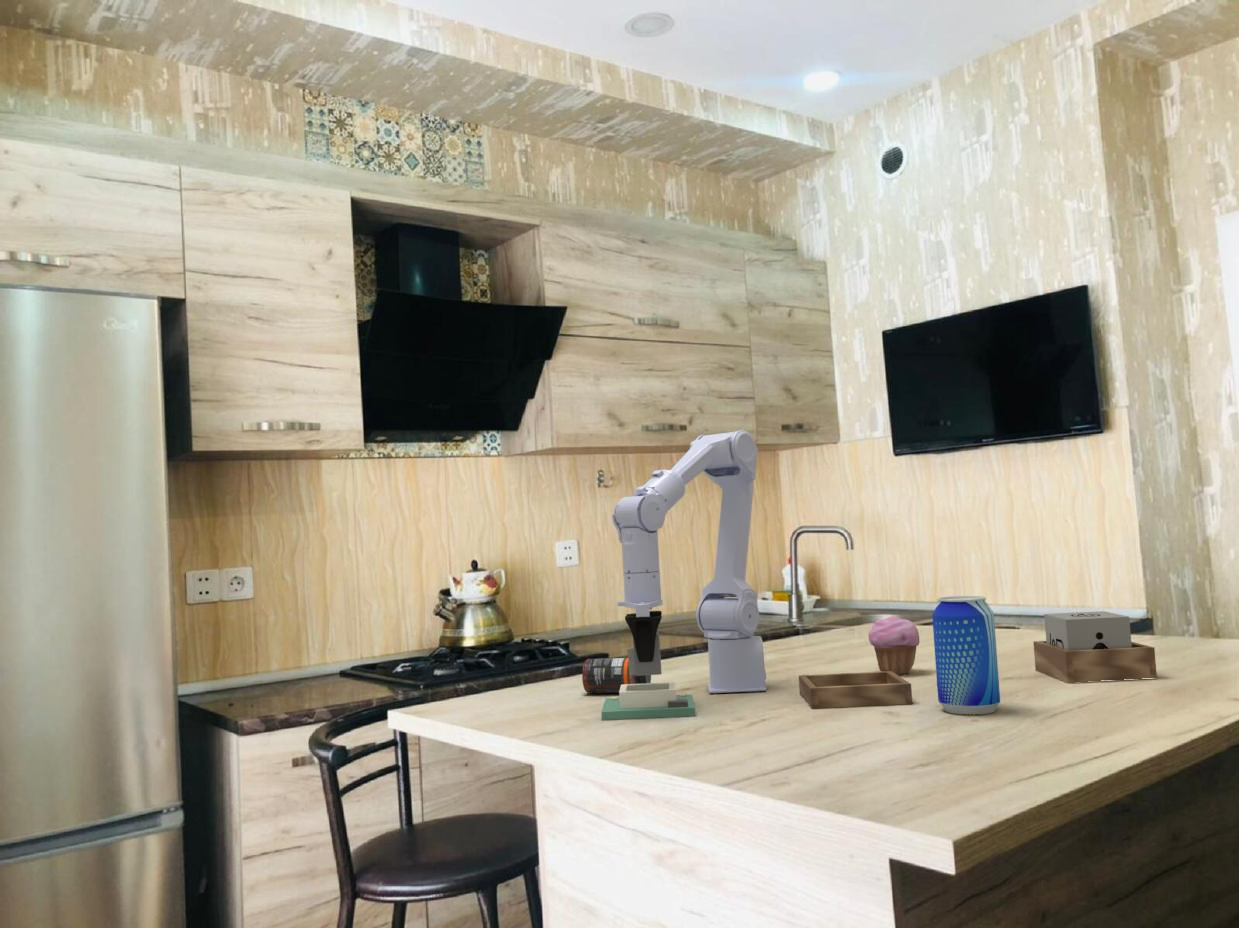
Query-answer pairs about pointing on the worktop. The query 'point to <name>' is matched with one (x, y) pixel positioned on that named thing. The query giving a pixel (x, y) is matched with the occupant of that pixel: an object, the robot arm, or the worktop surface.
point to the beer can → (966, 655)
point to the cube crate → (1095, 663)
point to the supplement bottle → (609, 675)
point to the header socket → (647, 695)
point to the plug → (645, 667)
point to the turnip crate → (855, 689)
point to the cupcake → (894, 644)
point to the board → (649, 709)
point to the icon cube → (1088, 630)
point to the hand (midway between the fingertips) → (646, 659)
